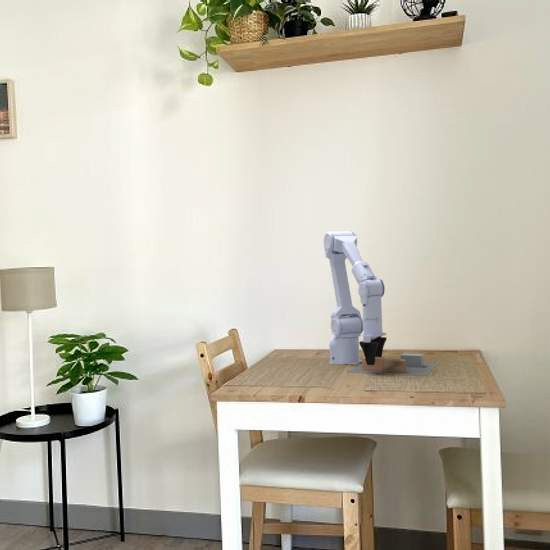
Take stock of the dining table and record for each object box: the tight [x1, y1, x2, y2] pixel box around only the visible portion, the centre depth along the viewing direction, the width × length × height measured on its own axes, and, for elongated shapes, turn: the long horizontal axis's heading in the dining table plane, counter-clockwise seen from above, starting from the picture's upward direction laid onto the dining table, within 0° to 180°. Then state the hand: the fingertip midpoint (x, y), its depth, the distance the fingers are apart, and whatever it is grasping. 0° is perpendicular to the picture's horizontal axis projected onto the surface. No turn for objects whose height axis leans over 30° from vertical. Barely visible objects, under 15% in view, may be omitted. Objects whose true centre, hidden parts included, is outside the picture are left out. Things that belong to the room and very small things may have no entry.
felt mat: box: [346, 362, 439, 377], centre depth 193 cm, size 24×20×1 cm
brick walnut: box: [383, 358, 406, 375], centre depth 185 cm, size 6×3×4 cm, turn 86°
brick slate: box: [400, 353, 425, 367], centre depth 194 cm, size 6×3×4 cm, turn 66°
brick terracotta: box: [361, 356, 386, 371], centre depth 191 cm, size 6×3×4 cm, turn 66°
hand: (374, 362), depth 191 cm, fingers open, 7 cm apart
